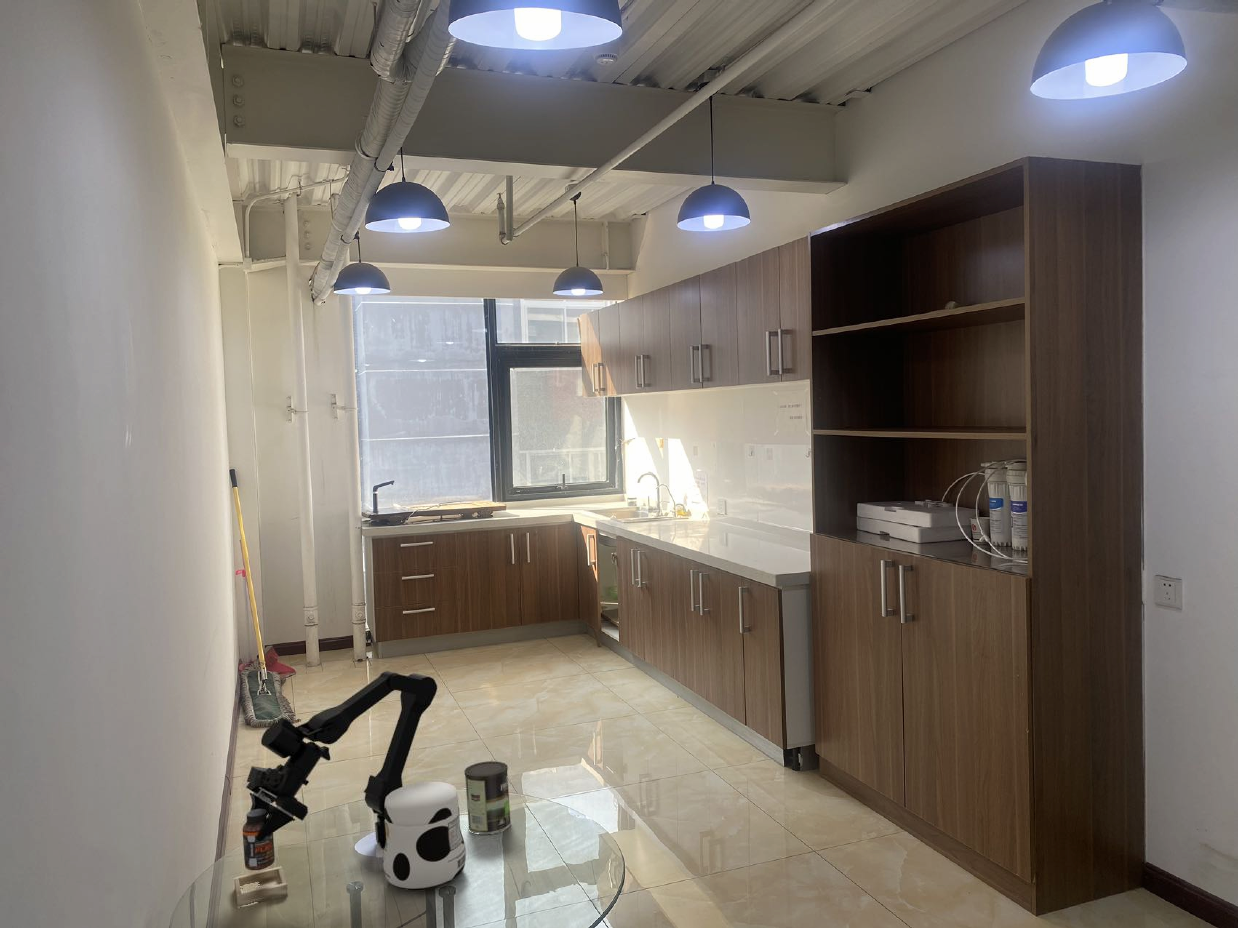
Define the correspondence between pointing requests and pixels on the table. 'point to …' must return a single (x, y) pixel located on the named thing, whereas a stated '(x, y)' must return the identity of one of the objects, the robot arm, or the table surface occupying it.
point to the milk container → (423, 836)
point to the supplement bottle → (257, 842)
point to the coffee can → (487, 797)
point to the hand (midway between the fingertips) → (251, 836)
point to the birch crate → (261, 886)
